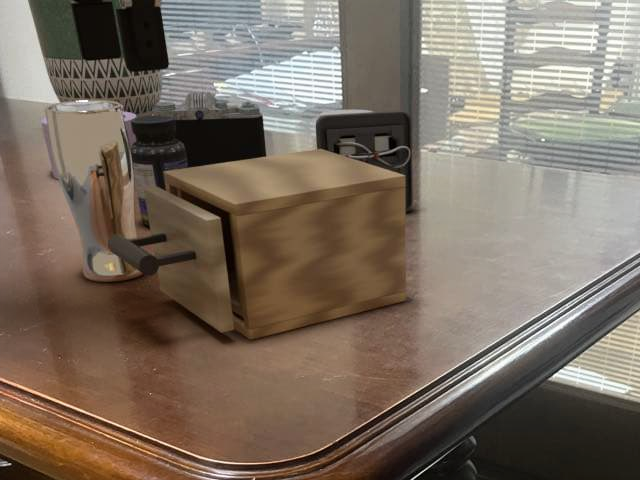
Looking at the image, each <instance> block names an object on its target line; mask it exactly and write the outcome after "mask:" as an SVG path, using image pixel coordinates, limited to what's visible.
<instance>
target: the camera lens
mask: <svg viewBox="0 0 640 480" xmlns="http://www.w3.org/2000/svg"><path fill="white" fill-rule="evenodd" d="M131 126H132V132H133V134H135V136H136V142H134V143H133V144H132V145H131V152H132V159H133V166H134V180H135V191H136V195H137V200H138V201H137V202H138V206H139V211H140V217H141V222H142V224H144V225H145V227H149V228H150V224H149V218H148V212H147V206H146V200H145V194H144V188H148V187H155V186H157V187H159V188H161V189H163V190H165V191H166V186H165V180H164V173H163V172H164V171H170V170H177V169H184V168H188V163H187V156H186V149H185V146H184V145H183V143H182V142H181V141H179V140H177V139H176V138H175V131H176V124H175V119H174V117H172V116H166V115H151V116H142V117H137V118H134V119H132V120H131Z"/></svg>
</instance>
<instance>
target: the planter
mask: <svg viewBox="0 0 640 480" xmlns="http://www.w3.org/2000/svg"><path fill="white" fill-rule="evenodd" d="M108 1H111V2H112V4H113V9H114V15H115V21H116V26H117V32H118V38H119V43H120V49H121V56H120V57H119V58H116V59H104V60H93V61H87V60H84V59H83V58H82V56H81V52H80V47H79V42H78V37H77V32H76V27H75V22H74V17H73V12H72V7H71V4H72V3H71V1H70V0H27V3H28V6H29V10H30V13H31V17H32V20H33V25H34V27H35V32H36V35H37V41H38V43H39V48H40V51H41V54H42V59H43V62H44V67H45V70H46V73H47V76H48V79H49V82H50V85H51V87H52V90H53V92H54V94H55V96H56V98H57V100H58V103H61V102H68V101H79V100H109V101H116V102H119V103H120V104H121V105H123V109H124V112H130V113H133V114H135V115H136V118H137V117H142V116H151V115H153V109H154V108H155V104H156V103H160V102H161V98H162V90H163V79H164V78H163V77H164V76H163V69H161V70H151V71H140V72H131V71H129V70H128V69H127V68H126V64H125V59H124V53H123V47H122V42H121V36H120V30H119V25H118V19H117V14H116V9H122V7H121V5H120V3H119V0H106V1H102V2H108Z"/></svg>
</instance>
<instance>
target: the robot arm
mask: <svg viewBox="0 0 640 480" xmlns="http://www.w3.org/2000/svg"><path fill="white" fill-rule="evenodd" d="M70 1H71V3H72V4H71V7H72V12H73V17H74V22H75V27H76V32H77V37H78V42H79V47H80V52H81V56H82V58H83V59H84V60H87V61H93V60H104V59H116V58H119V57H120V56H121V49H120V43H119V38H118V32H117V26H116V21H115V15H114V9H113V4H112V2H111V1H108V2H102V1H106V0H70ZM162 2H163V1H162V0H119V3H120V5H121V7H122V9H116V14H117V19H118V25H119V30H120V36H121V42H122V47H123V53H124V59H125V64H126V68H127V69H128V70H129V71H131V72H140V71H151V70H161V69H162V70H167V69H168V68H169V66H170V61H169V60H170V59H169V54H168V48H167V41H166V34H165V33H166V32H165V27H164V21H163V14H162Z"/></svg>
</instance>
